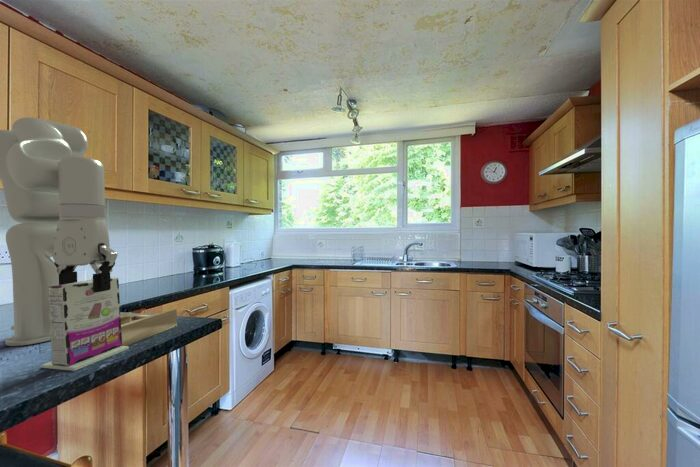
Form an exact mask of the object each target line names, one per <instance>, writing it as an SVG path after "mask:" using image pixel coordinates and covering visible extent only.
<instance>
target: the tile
mask: <svg viewBox="0 0 700 467" xmlns="http://www.w3.org/2000/svg"><path fill="white" fill-rule="evenodd" d="M129 346H130V345H128V346H118V347H116V348H113V349H111V350H108V351H106V352H103V353H101V354H98V355H96V356H93V357H91V358H88V359H86V360H83V361H80V362H78V363H75V364H73V365H70V366H64V365H53V364H52V360H51V361H48V362H45V363H43V364H41V368H43V369H51V370H53V369H54V370H63V371H73V372H75V371H77V370H78V371H79V370H80V369H82V368H85V367H88V366H90V365H93V364H94V363H97V362H100V361H102V360H104V359H107V358H110V357H112V356H114V355H116V354H119V353H122V352H124V351H127V350H129V349H130V348H129Z"/></svg>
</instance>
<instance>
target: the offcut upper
mask: <svg viewBox="0 0 700 467" xmlns="http://www.w3.org/2000/svg"><path fill="white" fill-rule="evenodd" d="M131 316H132V312H131V311H129V312H120V317H121V325H123V324H126V323H129V322H131Z"/></svg>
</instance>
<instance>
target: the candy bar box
mask: <svg viewBox="0 0 700 467" xmlns="http://www.w3.org/2000/svg"><path fill="white" fill-rule="evenodd" d="M110 284H111V289H110V290H107V291H102V292H93V279H87V280H81V281H77V282H74V283H68V284H62V285H56V286H50V287H48V299H49V316H50V334H51V340H50V350H51V361H52V364H53V365H64V366H70V365H73V364H75V363H78V362H80V361H83V360H86V359H88V358H91V357H93V356H96V355H98V354H101V353H103V352H106V351H108V350H111V349H113V348H116V347H118V346H121V345H122V335H121V317H120V314H121V302H120V284H119V277H111V276H110Z"/></svg>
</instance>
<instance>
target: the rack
mask: <svg viewBox="0 0 700 467" xmlns="http://www.w3.org/2000/svg"><path fill="white" fill-rule="evenodd" d="M177 319H178V312H177V308H171V309H168V310H164V311H160V312H158V313H155V314H131V320H136V321H132V322H129V323H126V324H123V325H121V335H122V345H121V346H130V345H133V344H135V343H137V342H140V341H143V340H145V339H148V338H150V337H152V336H155V335H158V334H160V333H163V332H166V331H168V330H171V329H173V328H176V327H178V320H177ZM175 326H176V327H175Z"/></svg>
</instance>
